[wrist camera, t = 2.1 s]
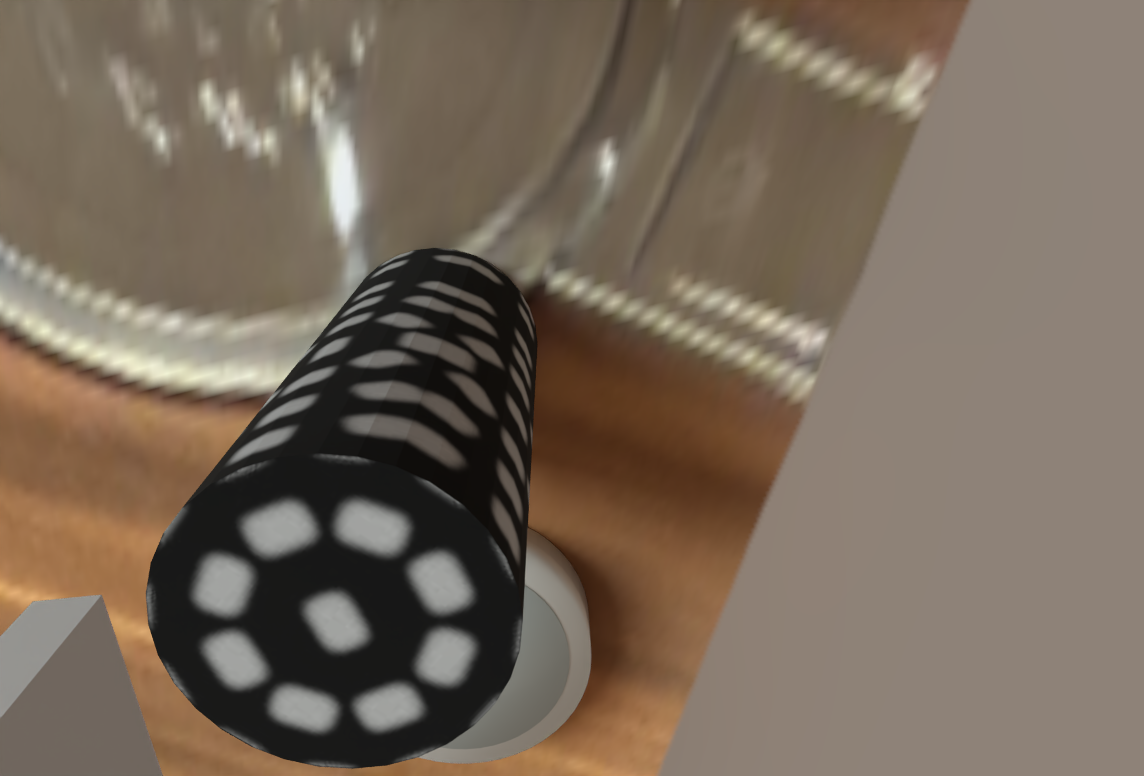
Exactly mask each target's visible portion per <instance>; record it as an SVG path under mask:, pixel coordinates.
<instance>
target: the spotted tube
mask: <svg viewBox="0 0 1144 776" xmlns="http://www.w3.org/2000/svg"><path fill="white" fill-rule="evenodd" d="M536 359H537V336H536V328H535V323H534V320H533V317H532V314H531V311H530V308H529V306H528V304H527V303H526V301H525V299H524V297H523V296H522V294H521V292H520V291H519V289H518V288H517V287H516V286H515V285H514V284H513V283H512V281H511V280H510V279H509V278H508V277H507V276H506V275H505V274H503V273H502V272H501V271H499V270H498V269H497V268H496V267H494V266H493V265H492V264H490V263H488V262H486V261H484V260H482V259H480V258H478V257H476V256H474V255H471V254H467V253H464V252H460V251H457V250H451V249H440V248H431V249H421V250H414V251H411V252H408V253H404V254H401V255H398V256H396V257H394V258H392V259H390V260H389V261H387V262H385V263H383V264H381V265H380V266H379V267H377V268H376V269H375V270H374V271H373V272H372V273H370V274H369V275H368V276H367V277H366V278H365V279H364V281H363V282H362V283H361V284H360V286H359V287H358V288H357V289H356V291H355V292H354V293H353V294H352V296H351V297H350V298H349V299H348V301H347V302H346V303H345V304H344V306H343V307H342V308H341V309H340V311H339V312H338V313H337V314H336V316H335V317H334V318H333V319H332V321H331V322H330V323H329V324H328V326H327V327H326V328H325V329H324V331H323V332H322V333H321V335H320V336H319V337H318V338H317V340H316V341H315V342H314V343H313V345H312V346H311V347H310V348H309V350H308V351H307V352H306V353H305V355H304V356H303V357H302V358H301V360H300V361H299V362H298V363H297V365H296V366H295V367H294V368H293V370H292V371H291V372H290V373H289V375H288V376H287V377H286V378H285V380H284V381H283V382H282V383H281V385H280V386H279V387H278V389H277V390H276V391H275V392H274V394H273V395H272V396H271V397H270V399H269V400H268V401H267V402H266V404H265V405H264V406H263V407H262V409H261V410H260V411H259V412H258V414H257V415H256V416H255V417H254V419H253V420H252V421H251V422H250V424H249V425H248V426H247V427H246V429H245V430H244V431H243V432H242V434H241V435H240V436H239V438H238V439H237V440H236V441H235V443H234V444H233V445H232V446H231V448H230V449H229V450H228V451H227V453H226V454H225V455H224V456H223V458H222V459H221V460H220V461H219V463H218V464H217V465H216V466H215V468H214V469H213V470H212V471H211V473H210V474H209V475H208V476H207V478H206V479H205V480H204V481H203V483H202V484H201V485H200V486H199V488H198V489H197V490H196V492H195V493H194V494H193V495H192V497H191V498H190V499H189V500H188V502H187V503H186V504H185V505H184V507H183V508H182V509H181V511H180V512H179V513H178V515H177V516H176V517H175V519H174V520H173V521H172V523H171V524H170V525H169V527H168V528H167V529H166V531H165V532H164V533H163V535H162V538H161V540H160V542H159V545H158V547H157V549H156V552H155V554H154V557H153V559H152V561H151V565H150V571H149V577H148V584H147V590H146V601H147V613H148V625H149V628H150V631H151V634H152V638H153V641H154V644H155V647H156V650H157V653H158V656H159V658H160V659H161V661H162V663H163V665H164V666H165V668H166V670H167V672H168V673H169V675H170V677H171V679H172V680H173V682H174V684H175V685H176V686H177V687H178V688H179V689H180V691H181V692H182V693H183V694H184V695H185V696H186V698H187V699H188V700H189V701H190V702H191V703H192V704H193V706H194V707H195V708H196V709H197V710H198V711H200V712H201V713H202V714H203V715H205V716H206V717H207V718H208V719H210V720H211V721H212V722H213V723H214V724H216V725H217V726H218V727H219V728H221V729H222V730H223V731H225V732H227V733H229V734H230V735H232V736H234V737H236V738H237V739H239V740H241V741H243V742H244V743H246V744H248V745H250V746H251V747H254V748H256V749H259V750H262V751H264V752H267V753H270V754H272V755H275V756H277V757H280V758H283V759H286V760H291V761H295V762H300V763H305V764H309V765H314V766H319V767H336V768H352V769H353V768H364V767H374V766H385V765H390V764H394V763H398V762H401V761H405V760H409V759H413V758H417V757H420V756H422V755H424V754H427V753H429V752H431V751H433V750H435V749H438V748H440V747H442V746H444V745H446V744H448V743H450V742H451V741H453V740H454V739H456V738H457V737H459V736H460V735H461V734H463V733H464V732H466V731H467V730H469V729H470V728H471V727H473V726H474V725H475V724H476V723H477V722H478V721H479V720H480V719H481V718H482V717H483V716H484V715H485V714H486V713H487V712H488V711H489V710H490V709H491V707H492V706H493V705H494V704H495V703H496V701H497V700H498V698H499V696H500V695H501V693H502V692H503V690H504V688H505V687H506V685H507V683H508V682H509V680H510V679H511V676H512V673H513V670H514V667H515V664H516V661H517V658H518V655H519V652H520V646H521V635H522V624H523V608H524V589H525V569H526V550H527V531H528V512H529V493H530V474H531V455H532V436H533V417H534V397H535V378H536Z"/></svg>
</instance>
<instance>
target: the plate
mask: <svg viewBox="0 0 1144 776" xmlns="http://www.w3.org/2000/svg"><path fill="white" fill-rule="evenodd" d="M590 670H591V642H590V626H589V612H588V603H587V599H586V595H585V591H584V588H583V586H582V583H581V581H580V579H579V576H578V575H577V573H576V571H575V570H574V568H573V566H572V565H571V563H570V562H569V561H568V560H567V558H566V557H565V556H564V555H563V554H562V552H561V551H560V550H559V549H557V548H556V547H555V546H554V545H553V544H552V543H551V542H550V541H548V540H547V539H546V538H544V537H543V536H541V535H540V534H539V533H537V532H536V531H534V530H532V529H530V528H528V531H527V550H526V569H525V589H524V608H523V624H522V635H521V646H520V652H519V655H518V658H517V661H516V664H515V667H514V670H513V673H512V676H511V679H510V680H509V682H508V683H507V685H506V687H505V688H504V690H503V692H502V693H501V695H500V696H499V698H498V700H497V701H496V703H495V704H494V705H493V706H492V707H491V709H490V710H489V711H488V712H487V713H486V714H485V715H484V716H483V717H482V718H481V719H480V720H479V721H478V722H477V723H476V724H475V725H474V726H473V727H471V728H470V729H469V730H467V731H466V732H464V733H463V734H461V735H460V736H459V737H457V738H456V739H454V740H453V741H451V742H450V743H448V744H446V745H444V746H442V747H440V748H438V749H435V750H433V751H431V752H429V753H427V754H424V755H422V756H420V757H419V758H423V759H428V760H432V761H438V762H446V763H480V762H488V761H493V760H498V759H502V758H505V757H509V756H512V755H515V754H518V753H520V752H522V751H525V750H527V749H529V748H531V747H533V746H535V745H536V744H538V743H540V742H542V741H543V740H545V739H546V738H547V737H549V736H550V735H551V734H553V733H554V732H555V731H556V730H557V729H558V728H559V727H561V726H562V725H563V724H564V723H565V722H566V721H567V719H568V718H569V717H570V715H571V714H572V713H573V712H574V710H575V709H576V707H577V705H578V704H579V702H580V700H581V698H582V697H583V694H584V691H585V689H586V686H587V684H588V679H589V675H590Z"/></svg>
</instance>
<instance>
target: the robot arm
mask: <svg viewBox="0 0 1144 776" xmlns="http://www.w3.org/2000/svg"><path fill="white" fill-rule="evenodd" d="M0 776H163V775H162V772H161V769H160V766H159V763H158V760H157V757H156V754H155V751H154V748H153V745H152V742H151V739H150V736H149V733H148V730H147V727H146V724H145V721H144V718H143V716H142V713H141V710H140V707H139V704H138V701H137V698H136V695H135V692H134V689H133V686H132V683H131V680H130V677H129V674H128V671H127V668H126V665H125V662H124V659H123V656H122V653H121V651H120V648H119V645H118V642H117V639H116V636H115V633H114V630H113V627H112V624H111V621H110V618H109V615H108V612H107V609H106V606H105V603H104V600H103V597H102V595H94V596H84V597H74V598H64V599H54V600H44V601H34V602H32V603H31V604H30V605H29V606H28V607H27V608H26V610H25V611H24V612H23V613H22V614H21V615H20V616H19V617H18V618H17V619H16V620H15V621H14V622H13V623H12V625H11V626H10V627H9V628H8V629H7V630H6V631H5V632H4V633H3V634H2V635H1V636H0Z"/></svg>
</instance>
